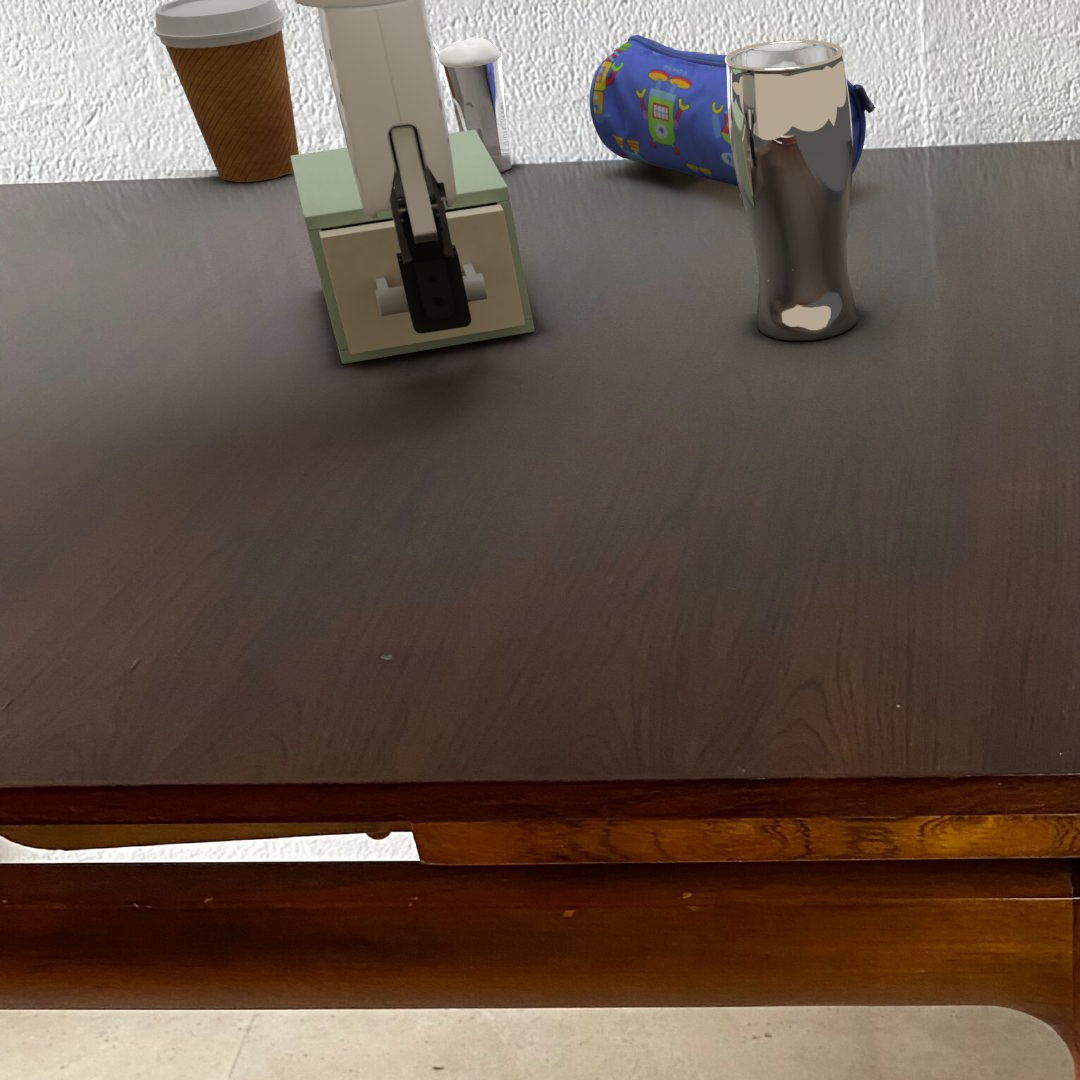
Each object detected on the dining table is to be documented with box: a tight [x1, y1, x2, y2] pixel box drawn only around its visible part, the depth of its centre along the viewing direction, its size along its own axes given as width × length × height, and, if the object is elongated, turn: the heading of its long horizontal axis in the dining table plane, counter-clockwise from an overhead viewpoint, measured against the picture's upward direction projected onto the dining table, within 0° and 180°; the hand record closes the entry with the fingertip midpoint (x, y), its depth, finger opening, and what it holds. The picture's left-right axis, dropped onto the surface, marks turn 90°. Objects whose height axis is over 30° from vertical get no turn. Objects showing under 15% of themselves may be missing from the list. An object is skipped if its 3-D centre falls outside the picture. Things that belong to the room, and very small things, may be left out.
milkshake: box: [432, 36, 512, 174], centre depth 131 cm, size 4×5×10 cm
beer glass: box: [725, 39, 858, 342], centre depth 100 cm, size 7×7×15 cm
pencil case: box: [588, 34, 876, 187], centre depth 125 cm, size 22×9×10 cm, turn 49°
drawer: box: [319, 204, 525, 355], centre depth 104 cm, size 17×10×7 cm, turn 19°
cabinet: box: [291, 130, 535, 365], centre depth 107 cm, size 14×12×9 cm
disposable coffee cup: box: [153, 0, 300, 183], centre depth 133 cm, size 10×10×12 cm
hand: (442, 324), depth 97 cm, fingers closed
